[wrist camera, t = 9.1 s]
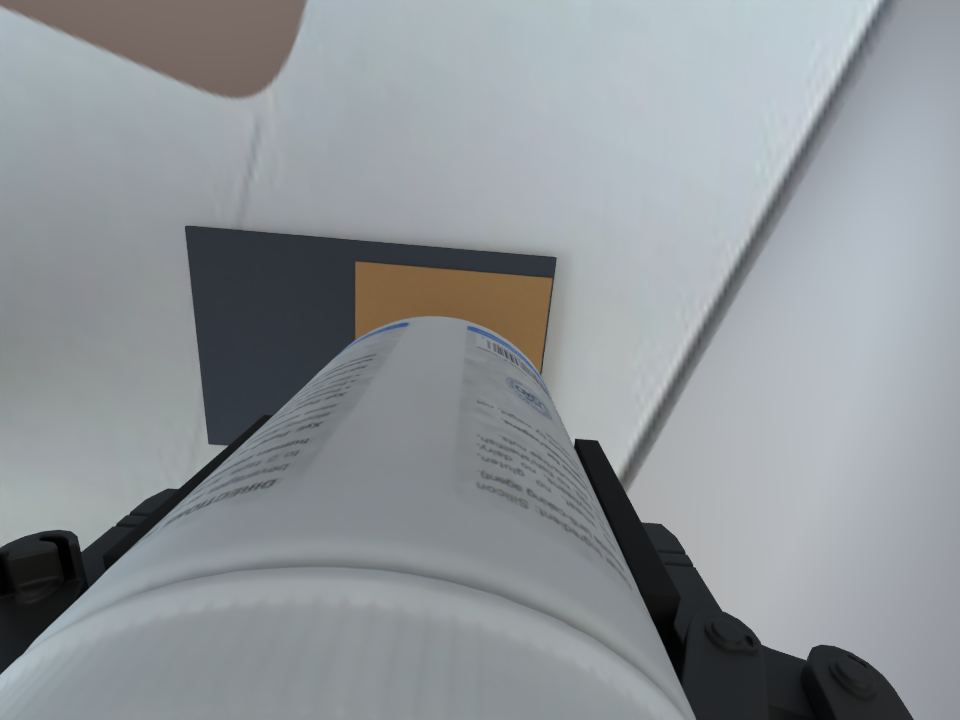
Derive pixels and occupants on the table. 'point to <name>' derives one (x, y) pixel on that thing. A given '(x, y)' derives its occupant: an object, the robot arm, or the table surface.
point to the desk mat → (336, 308)
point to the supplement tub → (372, 565)
